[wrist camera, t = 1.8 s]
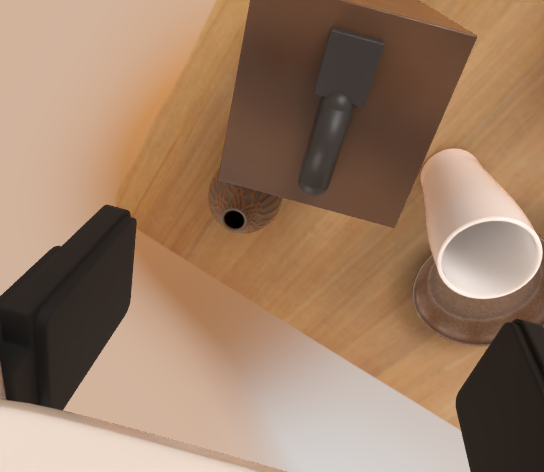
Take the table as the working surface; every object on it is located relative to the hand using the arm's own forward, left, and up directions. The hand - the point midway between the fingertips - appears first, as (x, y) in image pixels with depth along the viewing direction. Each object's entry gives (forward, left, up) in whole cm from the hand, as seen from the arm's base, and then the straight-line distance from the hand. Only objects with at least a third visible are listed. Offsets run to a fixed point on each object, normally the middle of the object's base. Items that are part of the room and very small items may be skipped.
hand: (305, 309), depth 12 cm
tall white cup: (+7, +13, -34) cm, 37 cm away
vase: (+13, -5, -34) cm, 37 cm away
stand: (-1, 0, -34) cm, 34 cm away
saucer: (+17, +21, -34) cm, 43 cm away
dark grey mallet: (-1, 0, -14) cm, 14 cm away
